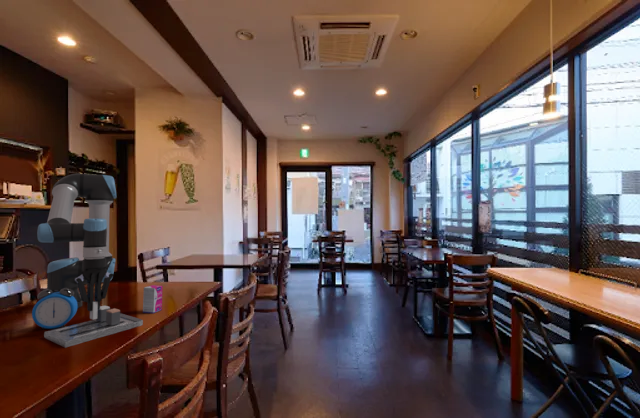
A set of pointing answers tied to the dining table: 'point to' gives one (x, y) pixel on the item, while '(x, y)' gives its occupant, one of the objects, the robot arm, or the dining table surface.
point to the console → (90, 330)
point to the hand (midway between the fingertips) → (93, 318)
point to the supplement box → (152, 299)
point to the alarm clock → (54, 308)
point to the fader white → (102, 313)
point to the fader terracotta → (112, 316)
